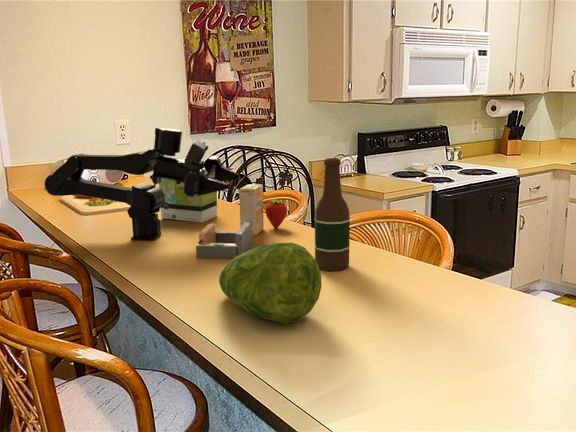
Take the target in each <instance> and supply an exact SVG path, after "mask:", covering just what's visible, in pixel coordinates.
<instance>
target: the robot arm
mask: <svg viewBox="0 0 576 432" xmlns="http://www.w3.org/2000/svg"><path fill="white" fill-rule="evenodd" d="M182 135H183V131H182V130H181V129H178V128H174V127H173V128H167V127H155V128H154V145H153V148H150V149H148V150H145V151H138V152H133V153H129V154H128V153H127V154H120V155H119V154H84V153H79V154H73V155H70V156H69V157H68V158H67V159H66V161H65V162H64V163H63V164H61V166H59V167H58V168H57V169H56V170H55V171H54V172H53V173H52V174H49V175H48V176H47V177H46V178H45V180H44V188H45V190H46V191H47V194H49V195H50V196H53V197H57V196H58V197H62V196H66V195H84V196H89V197H95V198H100V199H106V200H111V201H117V202H123V203H126V204H128V205H129V206H131V207H130V208H129V209H128V210H126V212H127V214H128V217H129V219H131V224H132V225H131V226H132V236H131V237H130V240H131V241H132V240H139V241H141V240H142V241H153V240H154V241H155V239H157V238H158V237H160V236H162V229H161V226H162V225H161V219H159V214H158V213H159V212H161V209H160V207H161V206H162V205H163V204H164V202H165V195H164V192H163V191H162V189H160V188H159V186H156V185H159V183H161V180H162V178H164V179H169V180H174V181H177V182H176V184H181V183H184V193H185V194H186V196H188V197H193V198H194V197H195V196H196V195H197V196H200V195H204V194H208V193H213V192H217V193H218V192H222V191H226V190H228V189H230V188H229V187H230V185H229V184H228V183H225V181H226V182H227V181H234V180H235V181H236V180H239V179H240V174H239V173H237V172H235V171H233V170H231V169H229V168H227V167H226V166H225V165H223V164H222V159H220V157H219V156H216V155H211V156H210V157H208V158H207V159H205V160H203V157H204V156H205V154H206V152H207V151H208V150H209V146H208V145H207V144H206V142H205V141H204V140H202V141H201V140H196V141H194V142H193V143H192V144H191V146H190V147H189V149H188V152H187V153H186V157H184V158H183V159H180V158H174V157H175V156H176V154H178V153H181V145H182ZM85 170H90V171H93V170H101V171H105V170H107V171H119V172H120V171H121V172H123V173H125V174H130V175H134V176H142V175H145V174H148V173H151V172H152V174H151V175H149V179H151V181H152V183H153V184H148V183H146V182H138V183H136V184H133V185H131V187H129V186H122V185H119V184H118V185H116V184H111V183H107V182H106V183H105V182H100V181H96V180H94V181H93V180H89V179H84V178H83V177H82V176H83V174H84V172H85ZM194 190H196V191H194Z"/></svg>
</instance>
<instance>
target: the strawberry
mask: <svg viewBox="0 0 576 432" xmlns="http://www.w3.org/2000/svg"><path fill="white" fill-rule="evenodd" d="M277 196H279V194H277ZM285 202H287V200H285V199H284V200H282V199H280V200H278V199H270V200H268V201H267V204H266V205H265V208H264V212H265V215H266V218H267V219H268V221H269V223H270V224H271V226H272V227H273V229H274V230H275V229H278V228H279V227H280V226H281V224H283V222H284V220H285V219H286V217H287V213H288V207H287V206H286V204H285Z"/></svg>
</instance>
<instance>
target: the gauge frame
mask: <svg viewBox="0 0 576 432" xmlns="http://www.w3.org/2000/svg"><path fill="white" fill-rule="evenodd" d="M215 234H216V243H201V244H198V242H197V243H196V244H195V253H196V254H195V255H196V259H214V260H215V259H216V260H217V259H218V260H219V259H220V260H221V259H222V260H232V259H234V258H235V257H236V256H238V255H240V254H242V253H244V252H247V251H249V250H250V248H251V247H252V245H253V244H254V243H253V242H254V239H253V237H254V236H253V232H252V221H246V222H245V223H244V224H243V225H242V227H241V228H238V230H237V231H220V230H219V231H217V230H215Z"/></svg>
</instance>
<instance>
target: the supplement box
mask: <svg viewBox="0 0 576 432" xmlns="http://www.w3.org/2000/svg"><path fill="white" fill-rule="evenodd" d="M263 187H264V185H263V184H261V183H259V184H258V183H256V184H253V183H252V184H246V185H244V186H242V187H241V188H239V189H238V192H239V193H238V194H239V197H238V199H239V221H240V222H239V225H240V226H239V227H240V228H241V227H242V225H243V224H244V223H245V222H246V221H252V232H253V237H257V236H258V235H259V233H261V232H262V231H263V230H264V190H263ZM240 228H239V229H240Z"/></svg>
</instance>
